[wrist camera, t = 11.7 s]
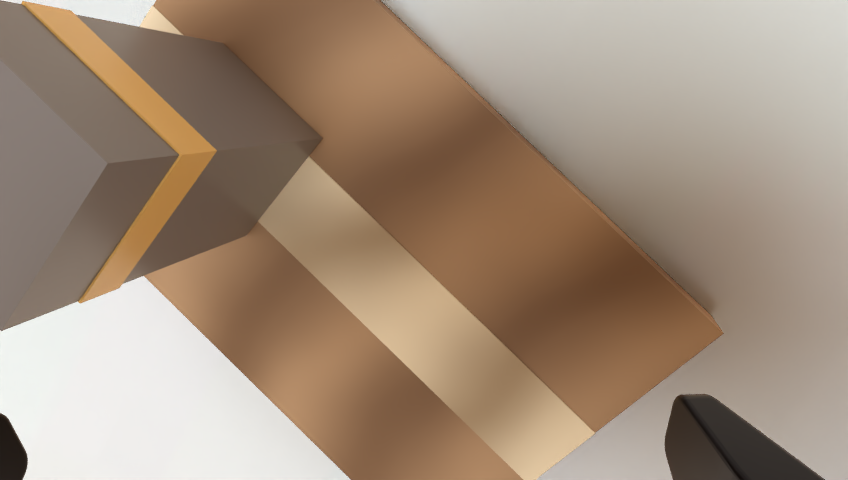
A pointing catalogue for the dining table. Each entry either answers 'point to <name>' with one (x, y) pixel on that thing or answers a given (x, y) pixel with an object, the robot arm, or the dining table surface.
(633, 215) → the dining table surface
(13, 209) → the gift box with lid
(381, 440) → the cardboard box
